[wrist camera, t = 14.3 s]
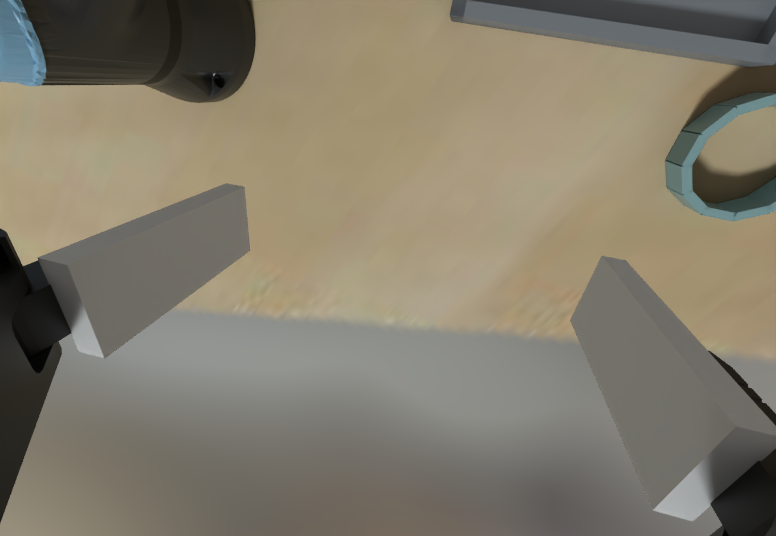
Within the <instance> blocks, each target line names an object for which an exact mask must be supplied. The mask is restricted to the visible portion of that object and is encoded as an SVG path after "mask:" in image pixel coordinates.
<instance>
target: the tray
mask: <svg viewBox="0 0 776 536" xmlns="http://www.w3.org/2000/svg"><path fill="white" fill-rule="evenodd" d="M450 17H451V21H455V22H461V23H467V24H474V25H480V26H487V27H493V28H499V29H506V30H512V31H519V32H525V33H531V34H538V35H544V36H551V37H557V38H563V39H570V40H576V41H583V42H589V43H595V44H602V45H608V46H615V47H621V48H627V49H634V50H640V51H647V52H653V53H660V54H666V55H672V56H679V57H685V58H692V59H698V60H704V61H711V62H717V63H724V64H730V65H736V66H743V67H756V66H768V65H774V64H775V63H776V0H453V1H452V7H451V12H450Z"/></svg>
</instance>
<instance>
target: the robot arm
mask: <svg viewBox="0 0 776 536" xmlns="http://www.w3.org/2000/svg"><path fill="white" fill-rule="evenodd" d="M254 46H255V35H254V24H253V19H252V14H251V10H250V6H249V3H248V0H0V82H13V83H20V84H22V85H28V86H40V85H146V86H148V87H151V88H153V89H155V90H158V91H160V92H163V93H165V94H167V95H170V96H172V97H175V98H177V99H180V100H183V101H188V102H195V103H203V102H216V101H221V100H223V99H226V98H228V97H229V96H231V95H232V94H234V93H235V92H236V91H237V90H238V89H239V88H240V87H241V85H242V84H243V83H244V81H245V79H246V78H247V76H248V73H249V71H250V68H251V65H252V61H253V56H254ZM249 251H250V244H249V233H248V221H247V210H246V199H245V188H244V187H242V186H237V185H232V184H227V183H226V184H224V185H221V186H218V187H216V188H213V189H211V190H208V191H206V192H203V193H201V194H198V195H196V196H193V197H191V198H188V199H185V200H183V201H180V202H178V203H175V204H173V205H170V206H168V207H165V208H163V209H160V210H158V211H155V212H152V213H150V214H147V215H145V216H142V217H140V218H137V219H135V220H132V221H130V222H127V223H125V224H122V225H119V226H117V227H114V228H112V229H109V230H107V231H104V232H102V233H99V234H97V235H94V236H92V237H89V238H86V239H84V240H81V241H79V242H76V243H74V244H71V245H69V246H66V247H64V248H61V249H59V250H56V251H53V252H51V253H48V254H46V255H43V256H41V257H38V261H36V262H33V263H31V264H28V265H26V266H22V264H21V262H20V259H19V257H18V255H17V253H16V251H15V249H14V247H13V245H12V243H11V240H10V238H9V236H8V234H7V232H5V231H4V230H2V229H0V522H1V519H2V517H3V514H4V511H5V508H6V506H7V503H8V500H9V498H10V495H11V492H12V489H13V486H14V484H15V481H16V478H17V475H18V473H19V470H20V467H21V465H22V462H23V459H24V456H25V454H26V451H27V448H28V445H29V443H30V439H31V437H32V434H33V432H34V429H35V426H36V423H37V420H38V418H39V415H40V412H41V409H42V407H43V404H44V401H45V399H46V396H47V393H48V390H49V387H50V385H51V382H52V379H53V376H54V374H55V371H56V368H57V365H58V363H59V360H60V357H61V354H62V350H61V346H60V344H59V342H58V341H59V340H61V339H62V338H64V337H66V336H67V335H69V334H71V335H72V337H73V339H74V342H75V344H76V346H77V349H78V351H79V352H83V353H86V354H90V355H93V356H97V357H101V358H106V357H107V356H109V355H110V354H111V353H113V352H114V351H115V350H117V349H118V348H119V347H121V346H122V345H124V344H125V343H126V342H128V341H129V340H130V339H132V338H133V337H134V336H136V335H137V334H138V333H140V332H141V331H142V330H144V329H145V328H146V327H148V326H149V325H150V324H152V323H153V322H154V321H156V320H157V319H159V318H160V317H161V316H162V315H164V314H165V313H167V312H168V311H169V310H171V309H172V308H173V307H175V306H176V305H177V304H179V303H180V302H181V301H183V300H184V299H185V298H187V297H188V296H189V295H191V294H192V293H194V292H195V291H196V290H198V289H199V288H200V287H202V286H203V285H204V284H206V283H207V282H208V281H210V280H211V279H212V278H214V277H215V276H216V275H218V274H219V273H220V272H222V271H223V270H224V269H226V268H227V267H229V266H230V265H231V264H233V263H234V262H235V261H237V260H238V259H239V258H241V257H242V256H243V255H245V254H246V253H247V252H249ZM570 321H571V323H572V325H573V328H574V330H575V332H576V335H577V337H578V339H579V342H580V344H581V346H582V348H583V351H584V352H585V355H586V358H587V360H588V362H589V365H590V367H591V369H592V371H593V374H594V376H595V378H596V381H597V383H598V385H599V388H600V390H601V392H602V394H603V397H604V399H605V401H606V404H607V406H608V408H609V411H610V413H611V415H612V418H613V420H614V422H615V424H616V427H617V429H618V431H619V434H620V436H621V438H622V441H623V443H624V445H625V448H626V450H627V452H628V454H629V457H630V459H631V461H632V464H633V466H634V468H635V471H636V473H637V475H638V477H639V480H640V482H641V484H642V486H643V489H644V491H645V494H646V496H647V498H648V500H649V503H650V505H651V507H652V509H653V510H654V511H657V512H661V513H664V514H668V515H672V516H675V517H679V518H683V519H686V520H690V521H694V520H695V519H696V518H697V517H698V516H699V515H700V514H702V513H703V512H704V511H705V510H706V509H707V508H708V507H710V506H712V508H713V509H714V511H715V513H716V514H717V516H718V518H719V520H720V521H721V523H722V526H721V527H720V528H719V529H718V530H716V531H715V532H714V533H712V534H711V535H710V536H776V414H775V413H774V412H773V411H772V409H770V407H769V406H768V405H767V404H766V403H762V399H761V398H760V397H759V396H758V395H757V394H756V393H755V391H754V390H753V389H752V388H748V384H747V383H746V382H745V381H744V380H743V379H742V378H741V376H740V375H739V374H738V373H737V372H736V371H735V370H734V369H733V368H732V367H731V366H729V365H728V364H726V363H725V362H724V361H722V360H721V359H720V358H718V357H717V356H716V355H714V354H713V353H712V352H710V351H707V350H706V348H705V347H704V346H703V345H702V344H701V343H700V342H699V341H698V340H697V338H696V337H695V336H694V335H693V334H692V333H691V332H690V331H689V330H688V329H687V327H686V326H685V325H684V324H683V323H682V322H681V321H680V320H679V319H678V318H677V316H676V315H675V314H674V313H673V312H672V311H671V310H670V309H669V308H668V306H667V305H666V304H665V303H664V302H663V301H662V300H661V299H660V298H659V297H658V295H657V294H656V293H655V292H654V291H653V290H652V289H651V288H650V287H649V286H648V284H647V283H646V282H645V281H644V280H643V279H642V278H641V277H640V276H639V274H638V273H637V272H636V271H635V270H634V269H633V268H632V267H631V266H630V265H629V263H628V262H627V261H626V260H621V259H616V258H610V257H605V256H601V259H600V261H599V263H598V265H597V267H596V269H595V271H594V273H593V275H592V277H591V279H590V281H589V283H588V285H587V287H586V289H585V291H584V293H583V295H582V297H581V299H580V301H579V303H578V305H577V307H576V309H575V312H574V314H573V316H572V318H571V320H570Z"/></svg>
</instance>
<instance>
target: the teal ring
mask: <svg viewBox="0 0 776 536" xmlns="http://www.w3.org/2000/svg"><path fill="white" fill-rule="evenodd" d="M767 106H773V107H776V93H766V92H754V93H750V94H746V95H743V96H740V97H737V98H734V99H730V100H727V101H724V102H721V103H718V104H715V105H713V106H712V107H710V108H709V109H708V110H706V111H705V112H704V113H703V114H701V115H700V116H699V117H698V118H696V119H695V120H694V121H693V122H691V123H690V124H689V125H688V126H686V127H685V128H684V129H683V131H681V132H680V134H679V136H678V138H677V140H676V142H675V143H674V145H673V147H672V149H671V151H670V152H669V154H668V156H667V158H666V160H667V161H665V167H666V187H667V188H668V189H669V191H670V192H671V193H672V194H673V195H674V196H675V197H676V198H677V199H678V200H679V201H680V202H681V203H682V204H683V205H684V206H686V207H688V208H690V209H691V210H693V211H695V212H697V213H699V214H701V215H704V216H709V217H714V218H719V219H724V220H728V221H737V220H741V219H746V218H751V217H755V216H760V215H764V214H769V213H770V212H774V211H776V177H775V178H774V179H773V180H771V181H769V182H768V183H766V184H765V185H763V186H762V187H760V188H759V189H757V190H756V191H754V192H752V193H751V194H749V195H748V196H746V197H743V198H738V199H734V200H730V201H725V202H721V203H717V204H715V203H710V202H705V201H702V200H701V199H700V198H699V197H698V196H697V195H696V194H695V193H694V192H693V191H692V165H693V163H694V161H695V160H696V158H697V156H698V155H699V153H700V151H701V150H702V148H703V146H704V145H705V143H706V141H707V140H708V138H709V137H710V136H712V135H713V134H714V133H716V132H717V131H718V130H720V129H721V128H722V127H724V126H725V125H726V124H728V123H729V122H730V121H732V120H733V119H734V118H736V117H737V116H738V115H740V114H744V113H747V112H750V111H754V110H757V109H760V108H764V107H767Z"/></svg>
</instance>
